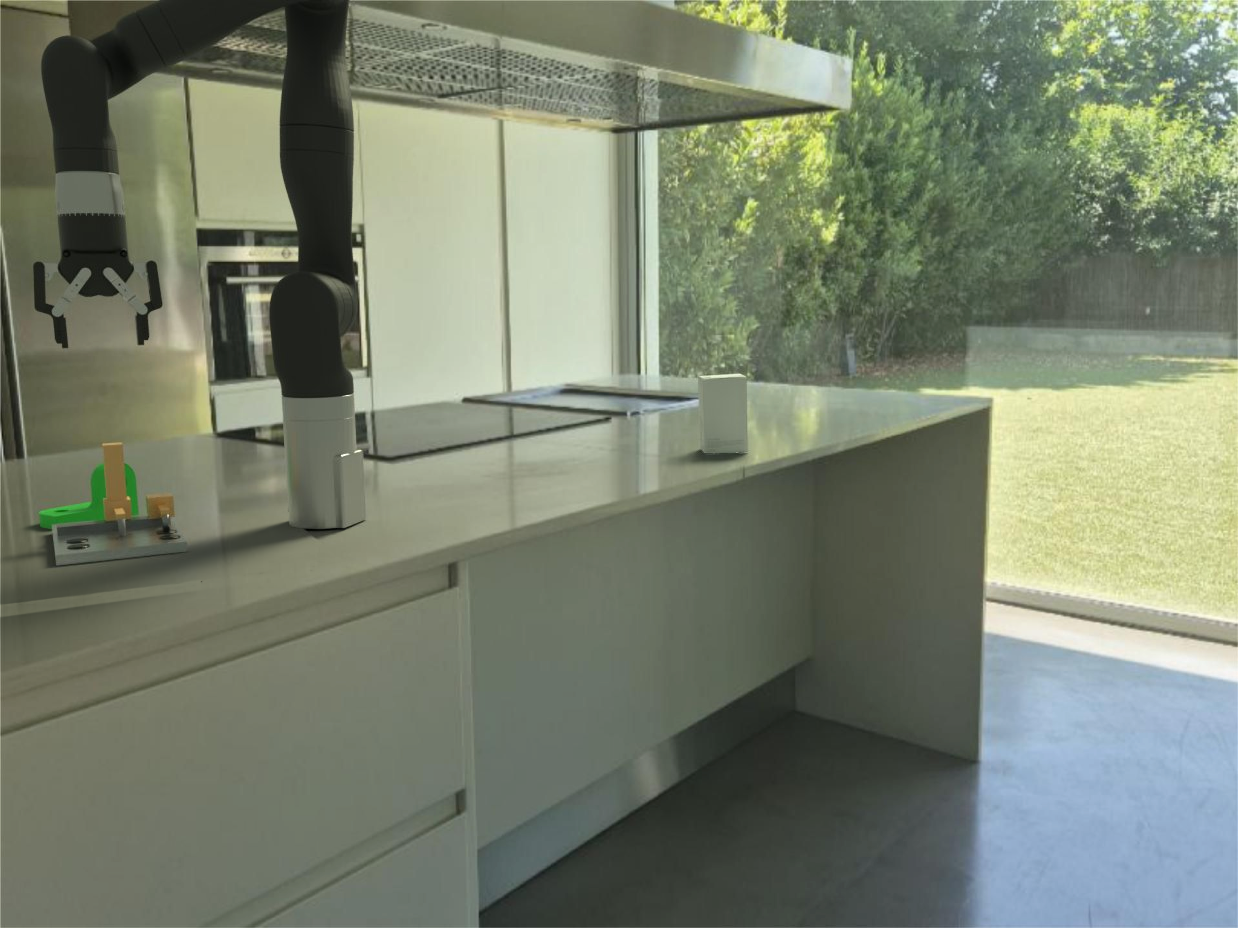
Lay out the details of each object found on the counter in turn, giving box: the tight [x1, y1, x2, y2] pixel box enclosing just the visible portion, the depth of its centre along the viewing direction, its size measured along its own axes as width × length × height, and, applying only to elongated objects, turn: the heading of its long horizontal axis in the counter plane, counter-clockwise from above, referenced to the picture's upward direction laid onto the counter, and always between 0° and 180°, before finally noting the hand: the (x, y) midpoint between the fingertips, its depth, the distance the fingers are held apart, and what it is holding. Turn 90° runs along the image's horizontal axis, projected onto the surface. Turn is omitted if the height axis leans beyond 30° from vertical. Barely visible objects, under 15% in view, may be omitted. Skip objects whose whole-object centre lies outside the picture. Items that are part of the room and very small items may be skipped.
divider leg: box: [101, 441, 133, 536], centre depth 139 cm, size 3×8×10 cm, turn 28°
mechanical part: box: [38, 461, 140, 530], centre depth 153 cm, size 12×6×8 cm, turn 147°
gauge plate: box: [51, 492, 188, 567], centre depth 139 cm, size 14×20×5 cm
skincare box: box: [697, 373, 749, 455], centre depth 205 cm, size 8×6×15 cm
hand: (103, 346), depth 139 cm, fingers open, 8 cm apart
